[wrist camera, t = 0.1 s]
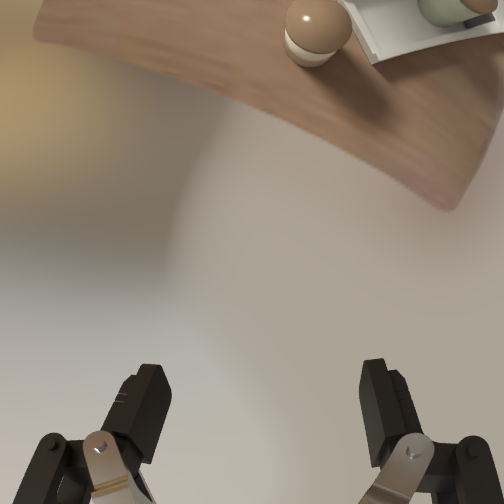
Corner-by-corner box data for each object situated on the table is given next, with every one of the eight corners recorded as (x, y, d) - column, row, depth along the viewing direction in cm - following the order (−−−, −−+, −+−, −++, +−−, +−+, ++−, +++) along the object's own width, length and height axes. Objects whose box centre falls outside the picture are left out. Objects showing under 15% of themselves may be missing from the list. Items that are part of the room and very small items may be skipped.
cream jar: (280, 25, 29) (281, -4, 20) (329, 23, 29) (346, -5, 20) (286, 69, 32) (289, 53, 23) (336, 67, 31) (356, 52, 22)
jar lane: (371, 64, 30) (391, 55, 24) (334, -2, 27) (345, -24, 20) (502, 32, 24) (532, 27, 18) (472, -25, 21) (498, -38, 15)
